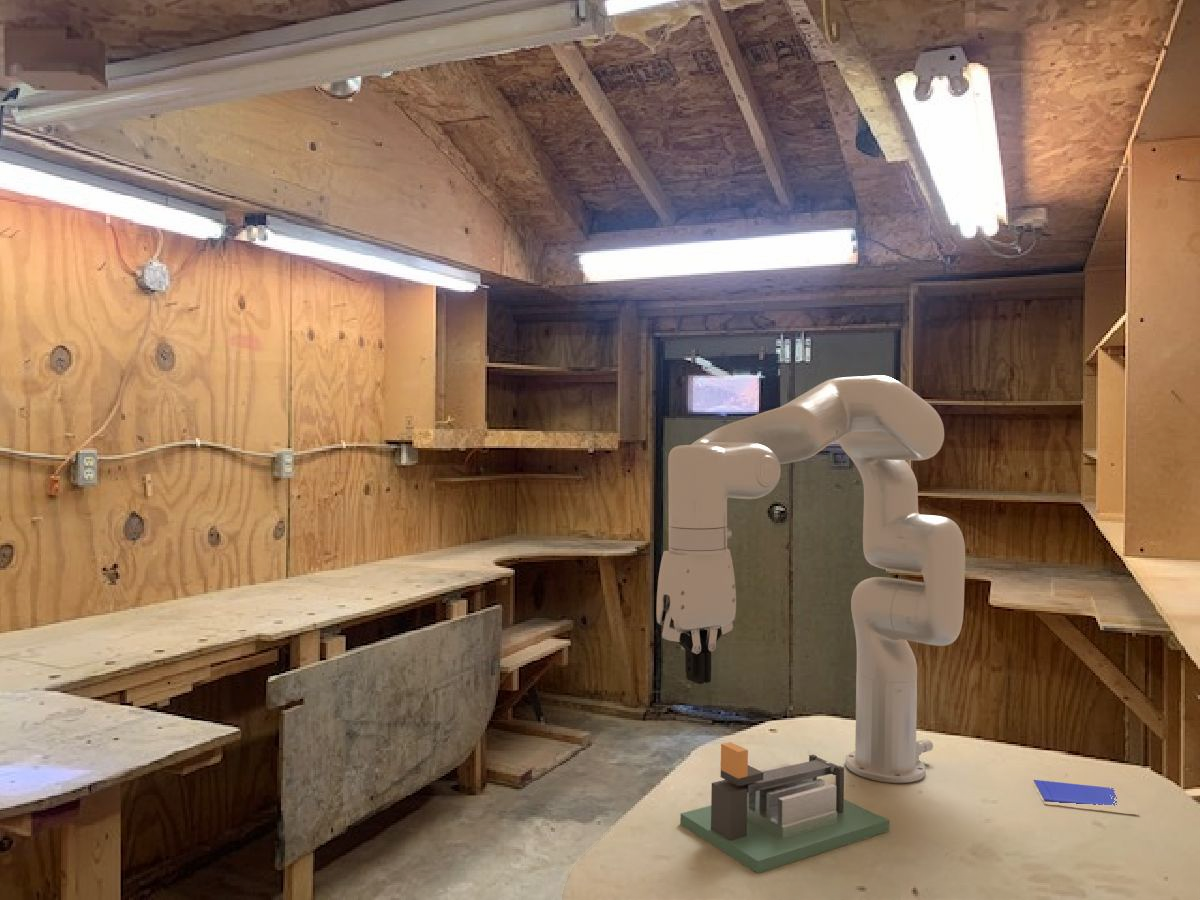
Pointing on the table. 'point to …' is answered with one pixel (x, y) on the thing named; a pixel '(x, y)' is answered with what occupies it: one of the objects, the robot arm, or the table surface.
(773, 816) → the heat sink
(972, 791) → the table surface
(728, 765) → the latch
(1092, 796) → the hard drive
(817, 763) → the strap
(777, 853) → the board
